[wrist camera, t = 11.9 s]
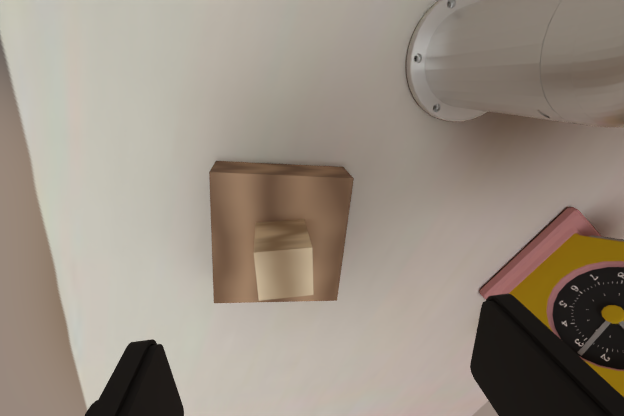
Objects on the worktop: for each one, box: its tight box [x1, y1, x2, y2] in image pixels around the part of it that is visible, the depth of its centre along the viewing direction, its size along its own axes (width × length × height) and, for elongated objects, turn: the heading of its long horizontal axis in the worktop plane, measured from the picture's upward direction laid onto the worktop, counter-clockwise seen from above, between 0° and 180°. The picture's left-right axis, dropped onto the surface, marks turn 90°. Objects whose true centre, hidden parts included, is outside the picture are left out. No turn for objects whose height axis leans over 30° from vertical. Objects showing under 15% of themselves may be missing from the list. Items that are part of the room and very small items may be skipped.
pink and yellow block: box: [480, 207, 624, 397], centre depth 36 cm, size 22×9×22 cm, turn 141°
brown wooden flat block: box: [209, 161, 354, 303], centre depth 36 cm, size 14×15×5 cm
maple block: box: [254, 219, 313, 301], centre depth 31 cm, size 5×5×6 cm
